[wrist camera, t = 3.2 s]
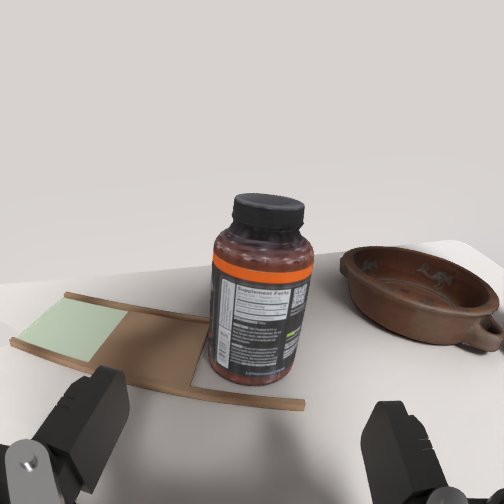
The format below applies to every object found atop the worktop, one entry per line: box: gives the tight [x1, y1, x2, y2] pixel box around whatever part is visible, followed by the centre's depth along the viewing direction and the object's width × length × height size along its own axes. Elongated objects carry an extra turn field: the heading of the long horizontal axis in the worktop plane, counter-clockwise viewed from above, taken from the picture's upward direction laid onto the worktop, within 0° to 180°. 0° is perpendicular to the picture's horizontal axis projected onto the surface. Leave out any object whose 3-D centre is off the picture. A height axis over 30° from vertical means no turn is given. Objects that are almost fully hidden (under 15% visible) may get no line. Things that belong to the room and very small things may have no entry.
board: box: [10, 292, 305, 411], centre depth 22 cm, size 21×9×1 cm, turn 86°
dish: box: [340, 246, 504, 352], centre depth 30 cm, size 18×22×5 cm
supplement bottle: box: [208, 193, 314, 386], centre depth 20 cm, size 6×6×11 cm
